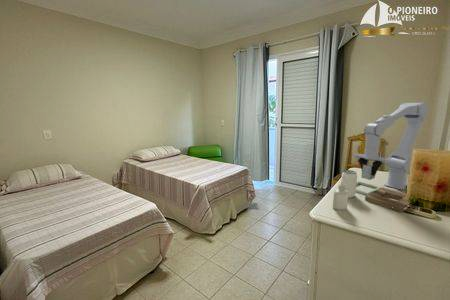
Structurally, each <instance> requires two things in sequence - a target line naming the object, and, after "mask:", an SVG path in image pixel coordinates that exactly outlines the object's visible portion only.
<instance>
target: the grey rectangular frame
mask: <svg viewBox="0 0 450 300" xmlns="http://www.w3.org/2000/svg"><path fill="white" fill-rule="evenodd" d="M358 185H361V186H366V187H369V188H373V189H372V190H370V191H369V192H367V191H363V190H361V189H357V188H356V192H355V193H359V194H361V195H365V196H366V195H368V194H370V193H372V192H374V191H376V190H378V189H380V188H382V187H381V186H378V185H374V184H371V183H367V182H363V181H360V180H359V181H358V180H357V183H356V186H358Z"/></svg>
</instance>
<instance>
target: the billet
mask: <svg viewBox="0 0 450 300" xmlns="http://www.w3.org/2000/svg"><path fill="white" fill-rule="evenodd" d="M372 171H373V163H371V162H367V163H366V164H363V168H362V169H361V177H360V178H362V179H365V180H369V181H371V180H374V179H375V178H376V175H374V176H372Z"/></svg>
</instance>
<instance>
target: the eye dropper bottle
mask: <svg viewBox="0 0 450 300" xmlns="http://www.w3.org/2000/svg"><path fill="white" fill-rule="evenodd" d="M332 198H333V200H332V201H333V202H332V208H333V209H335V210H337V211H345V210H347V209H348V203H349V198H348V191H346V190H345V185H344V184H343V182H341V181H340V183H339V184H338V188H337V189H335V190H334V192H333V197H332Z"/></svg>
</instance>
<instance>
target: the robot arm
mask: <svg viewBox="0 0 450 300" xmlns="http://www.w3.org/2000/svg"><path fill="white" fill-rule="evenodd" d="M429 112H430V106H429V104H428V102H426V101H425V102H403V103H402V104H400V105H399V107H398V108H397V109H396V110H394V111H393V112H392V113H391V114H384V115H382V116H381V117H380V118H378V119H377V120H375V121H373V122H371V123H370V122H369V123H367V124H366V125H365V126H364V129H363V132H364V137H365V145H364V153H354V156H353V158H354V159H357V161H358V163H359V166H360V169H361V170H362V168H363V164H366V163H368V161H372V164H373V171H372V176H374V175H375V176H376V174H377V172H378V170H379V169H380V167H381V166H382V164H386V166H387V169H388V170H389V171H388V177H387V182H386V183H384V184H383V186H384V187H385V186H386V187H389V188H394V189H397V190H404V189H406V188H407V187H408V186H407V185H408V184H407V182H408V177H409V173H408V172H410V171H409V169H410V161H411V156H412V155H411V154H410V153H411V151H412V149H413V147H414V144H415V142H416V139H417V137H418V135H419V133H420V130H421V128H422V125H423V123H424V122H425V120H426V119H427V116H428V114H429ZM402 117H403V119H404V120H406V121H407V122H408V123H407V125H406V128H405V131H404V133H403V135H402V138H401V140H400V143H399V145H398V148H397V150H395V151H393V152H391V153H390V155H389V156H388V157H387V158H386V157H382V156H379V151H380V144H381V137H382V136H383V135H384V134H385V132H386V131H387V129H389V128H391V127H392V126H393V125H394V124H395V122H396V121H397V120H399V119H401V118H402ZM406 186H407V187H406Z"/></svg>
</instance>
